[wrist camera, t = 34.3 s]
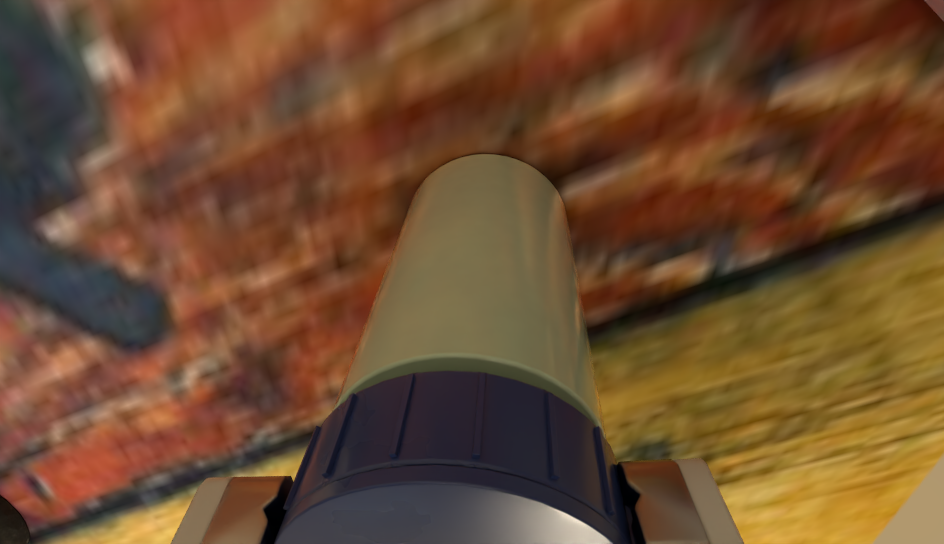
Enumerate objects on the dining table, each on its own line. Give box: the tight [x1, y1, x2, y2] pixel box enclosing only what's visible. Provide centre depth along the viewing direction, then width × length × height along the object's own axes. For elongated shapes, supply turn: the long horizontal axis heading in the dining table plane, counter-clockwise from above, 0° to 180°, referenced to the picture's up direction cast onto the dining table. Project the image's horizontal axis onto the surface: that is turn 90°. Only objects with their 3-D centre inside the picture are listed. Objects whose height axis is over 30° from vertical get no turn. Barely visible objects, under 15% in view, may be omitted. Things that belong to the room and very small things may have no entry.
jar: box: [332, 154, 606, 439], centre depth 14 cm, size 6×6×12 cm
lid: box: [274, 370, 635, 544], centre depth 10 cm, size 6×6×2 cm
